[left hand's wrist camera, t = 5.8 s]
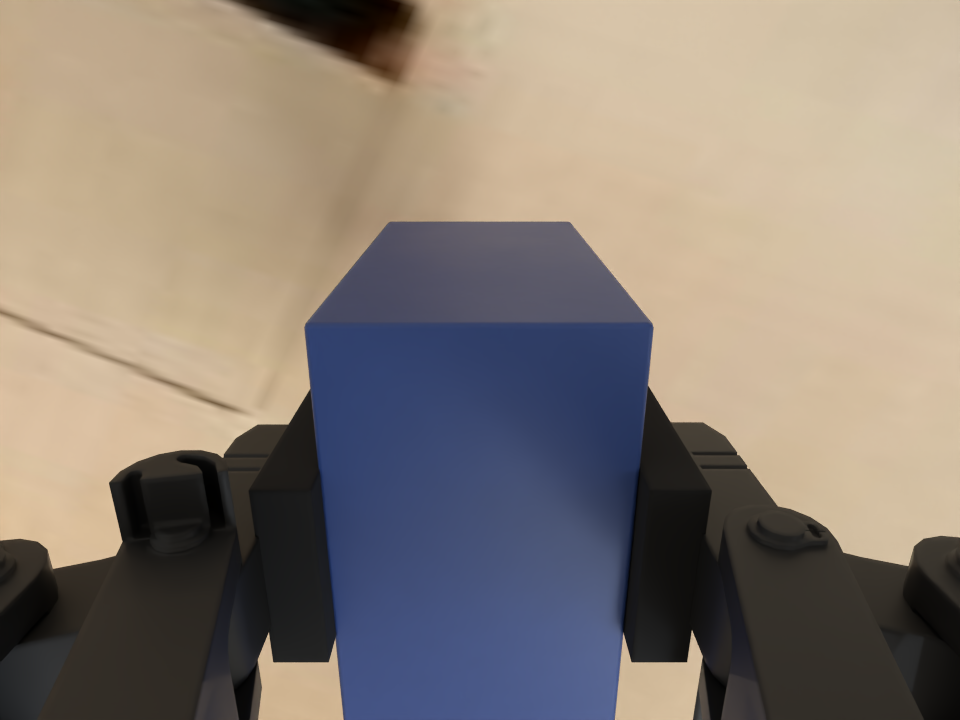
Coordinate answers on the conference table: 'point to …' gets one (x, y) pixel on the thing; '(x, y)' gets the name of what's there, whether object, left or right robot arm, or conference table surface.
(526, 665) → the brick
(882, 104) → the conference table surface
